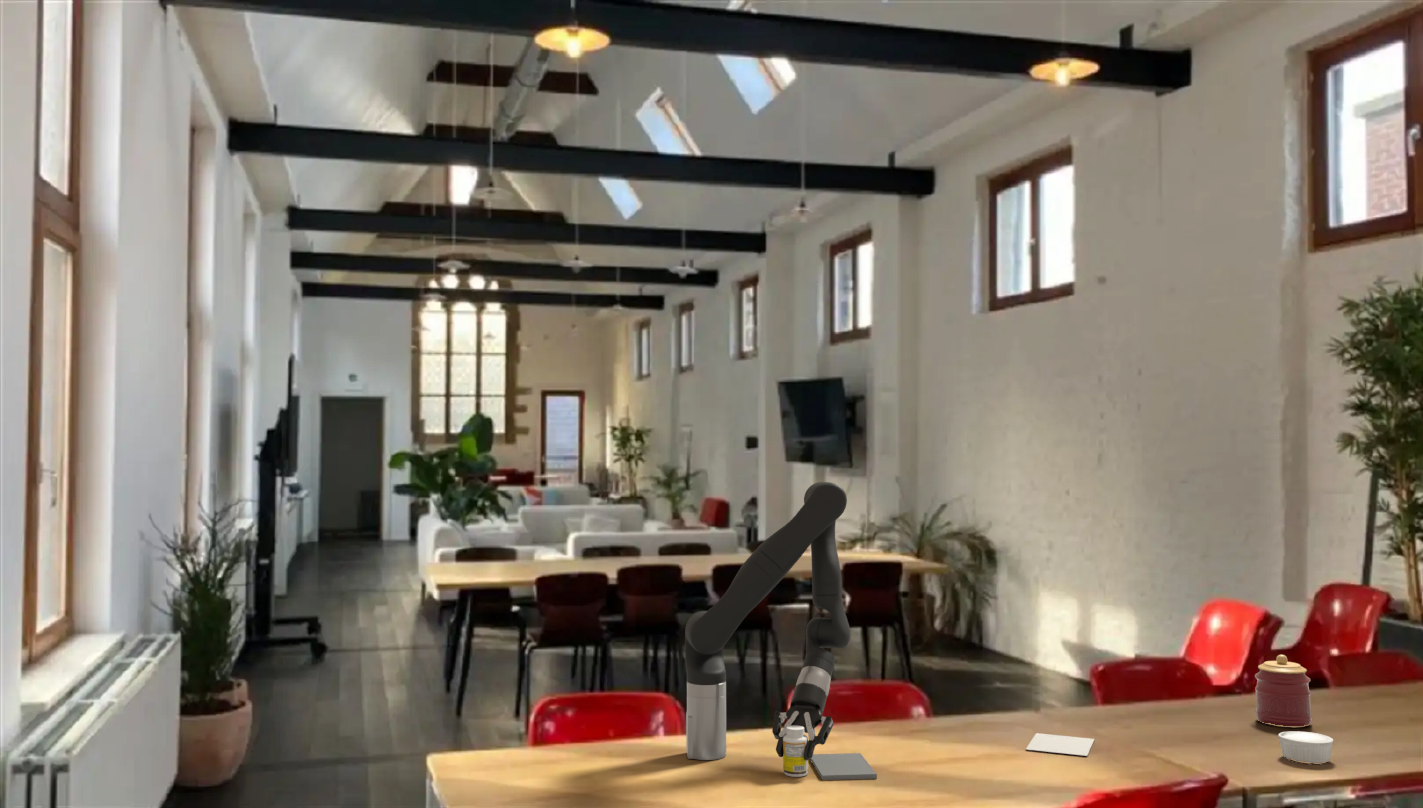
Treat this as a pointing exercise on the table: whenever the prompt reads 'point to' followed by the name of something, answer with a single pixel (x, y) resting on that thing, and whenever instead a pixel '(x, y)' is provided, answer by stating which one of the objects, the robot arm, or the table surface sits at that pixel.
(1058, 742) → the paper stack
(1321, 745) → the ramekin
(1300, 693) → the canister
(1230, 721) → the table surface
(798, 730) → the supplement bottle
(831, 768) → the mat
